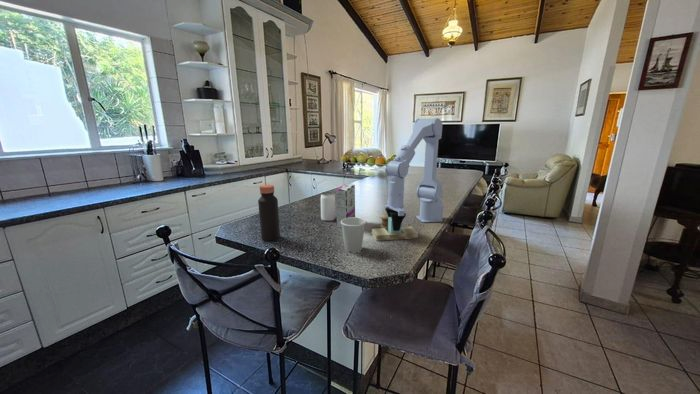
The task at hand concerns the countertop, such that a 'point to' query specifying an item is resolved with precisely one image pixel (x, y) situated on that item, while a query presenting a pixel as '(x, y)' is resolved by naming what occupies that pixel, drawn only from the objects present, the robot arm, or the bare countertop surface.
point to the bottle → (268, 214)
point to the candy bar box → (345, 203)
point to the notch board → (394, 234)
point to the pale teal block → (390, 227)
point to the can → (327, 206)
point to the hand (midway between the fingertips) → (394, 228)
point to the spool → (384, 221)
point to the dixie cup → (353, 233)
